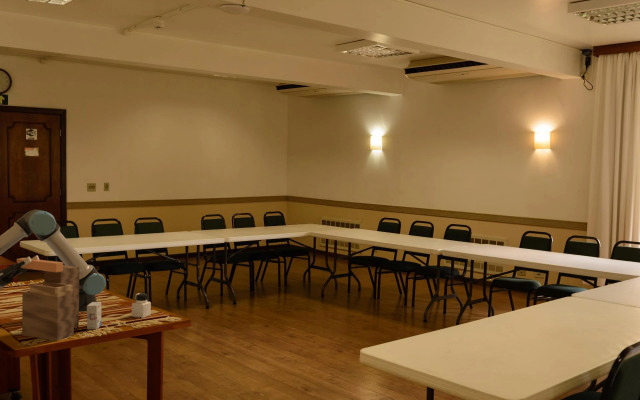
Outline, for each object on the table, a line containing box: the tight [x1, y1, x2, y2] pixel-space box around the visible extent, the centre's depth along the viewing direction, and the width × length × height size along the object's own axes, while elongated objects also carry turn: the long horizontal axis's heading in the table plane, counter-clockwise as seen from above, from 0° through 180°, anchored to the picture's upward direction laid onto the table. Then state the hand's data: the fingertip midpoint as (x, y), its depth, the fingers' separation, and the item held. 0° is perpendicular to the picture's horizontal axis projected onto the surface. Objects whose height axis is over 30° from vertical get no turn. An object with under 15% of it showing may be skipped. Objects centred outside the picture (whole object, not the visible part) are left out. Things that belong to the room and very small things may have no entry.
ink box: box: [86, 301, 102, 330], centre depth 302 cm, size 9×5×12 cm, turn 5°
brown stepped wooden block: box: [21, 264, 80, 342], centre depth 291 cm, size 22×21×30 cm
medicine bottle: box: [131, 292, 152, 319], centre depth 327 cm, size 7×7×12 cm
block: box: [16, 257, 64, 272], centre depth 286 cm, size 4×24×4 cm, turn 69°
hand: (34, 258), depth 287 cm, fingers closed on block, 4 cm apart
